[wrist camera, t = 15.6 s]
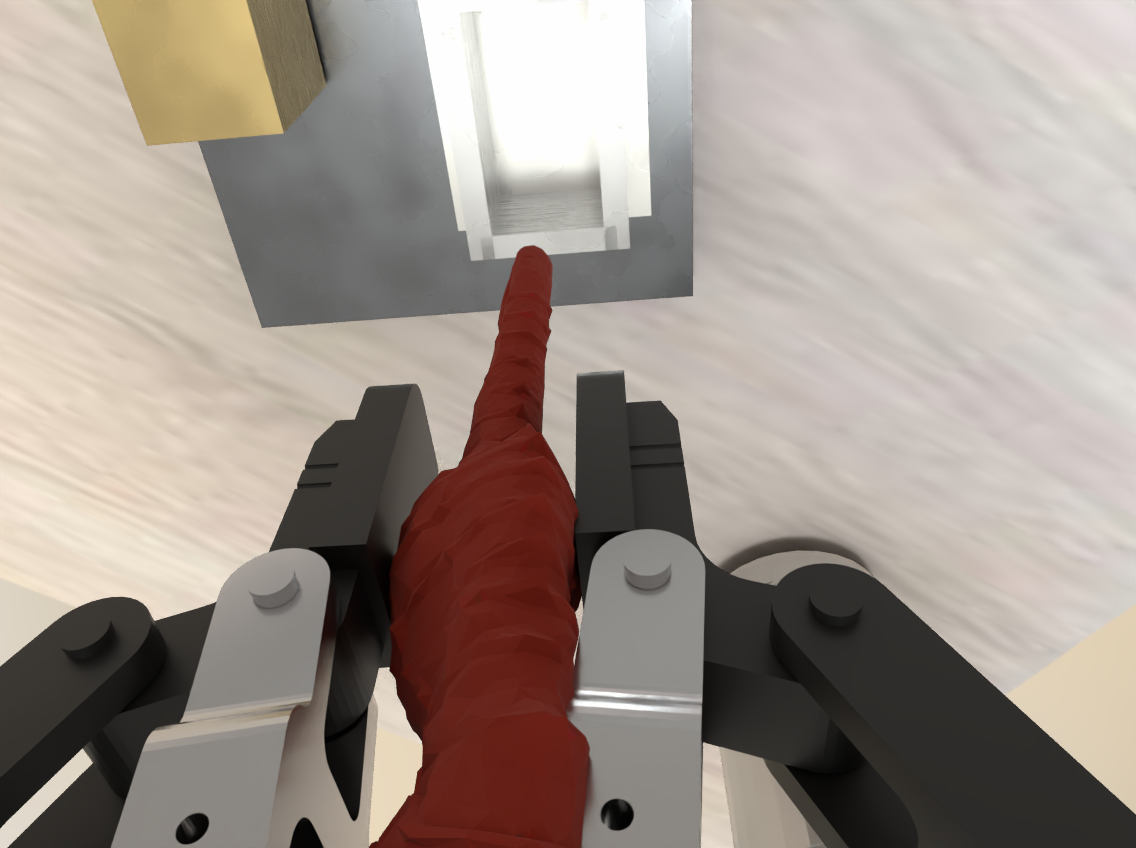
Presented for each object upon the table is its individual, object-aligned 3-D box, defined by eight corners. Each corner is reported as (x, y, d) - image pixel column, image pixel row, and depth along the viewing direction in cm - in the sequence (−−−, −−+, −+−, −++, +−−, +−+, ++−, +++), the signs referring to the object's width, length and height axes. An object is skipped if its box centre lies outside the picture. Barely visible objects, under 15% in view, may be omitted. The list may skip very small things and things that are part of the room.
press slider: (326, 86, 28) (283, 133, 24) (208, 96, 28) (146, 145, 24) (292, -52, 26) (239, -25, 22) (164, -39, 26) (88, -10, 22)
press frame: (689, 278, 34) (708, 365, 29) (272, 309, 35) (218, 398, 30) (684, -224, 25) (712, -230, 20) (118, -160, 26) (0, -150, 21)
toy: (435, 352, 19) (177, 1314, 7) (512, 122, 16) (296, 1110, 4) (535, 385, 20) (458, 1339, 7) (629, 167, 17) (752, 1170, 4)
